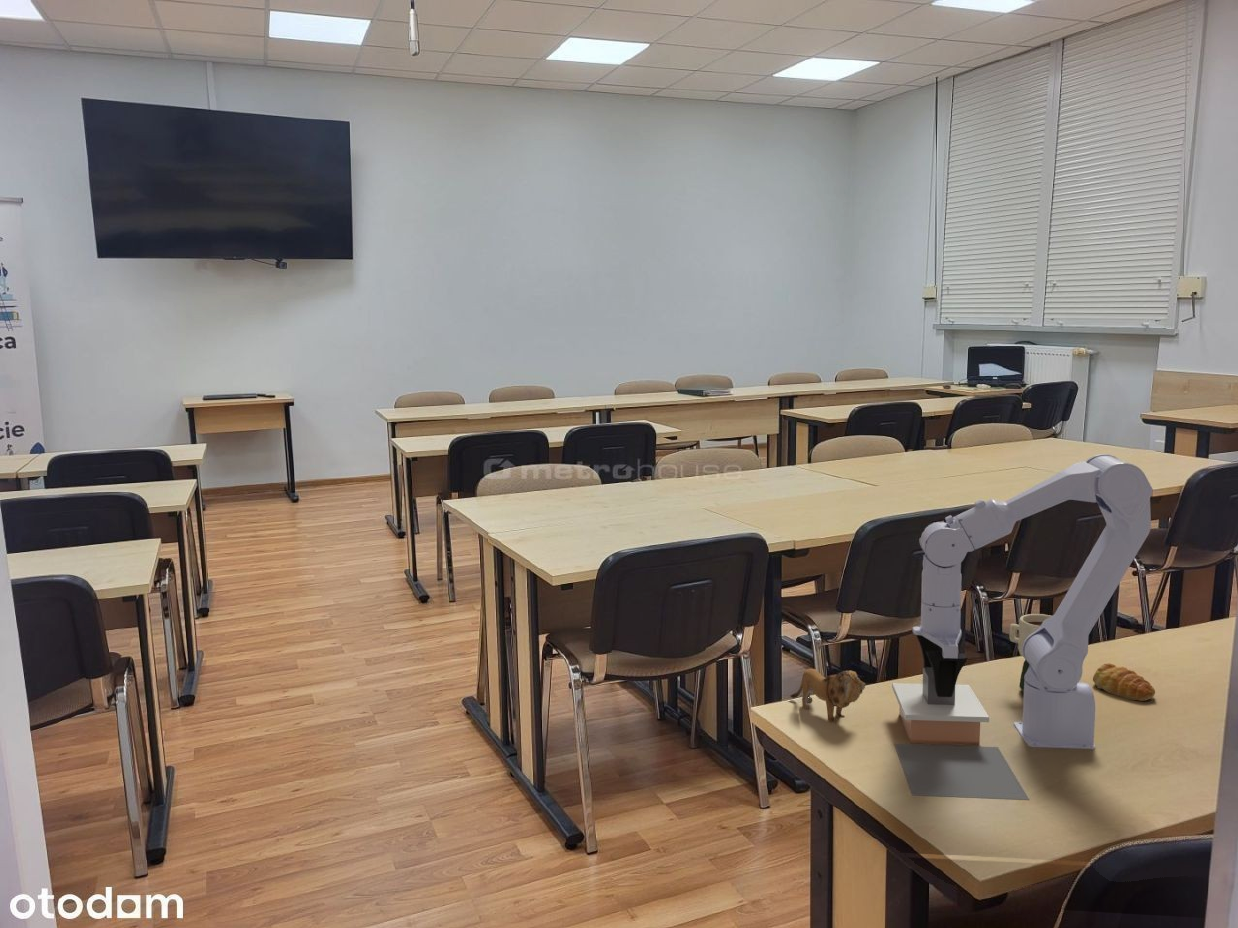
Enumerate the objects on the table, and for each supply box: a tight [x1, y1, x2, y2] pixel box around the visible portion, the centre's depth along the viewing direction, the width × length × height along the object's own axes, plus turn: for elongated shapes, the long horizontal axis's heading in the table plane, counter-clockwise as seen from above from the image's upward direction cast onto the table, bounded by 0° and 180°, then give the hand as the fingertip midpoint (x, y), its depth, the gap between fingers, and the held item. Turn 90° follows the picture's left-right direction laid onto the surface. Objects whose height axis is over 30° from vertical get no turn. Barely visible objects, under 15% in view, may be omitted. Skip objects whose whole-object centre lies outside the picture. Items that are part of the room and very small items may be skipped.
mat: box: [893, 743, 1030, 801], centre depth 127 cm, size 15×15×1 cm
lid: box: [891, 666, 990, 723], centre depth 138 cm, size 12×12×5 cm
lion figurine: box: [789, 668, 866, 724], centre depth 146 cm, size 15×5×9 cm, turn 37°
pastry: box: [1092, 663, 1156, 702], centre depth 152 cm, size 9×7×4 cm
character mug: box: [1009, 613, 1052, 692], centre depth 151 cm, size 11×7×13 cm, turn 42°
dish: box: [898, 707, 981, 746], centre depth 139 cm, size 10×10×4 cm
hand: (938, 686), depth 138 cm, fingers open, 7 cm apart
